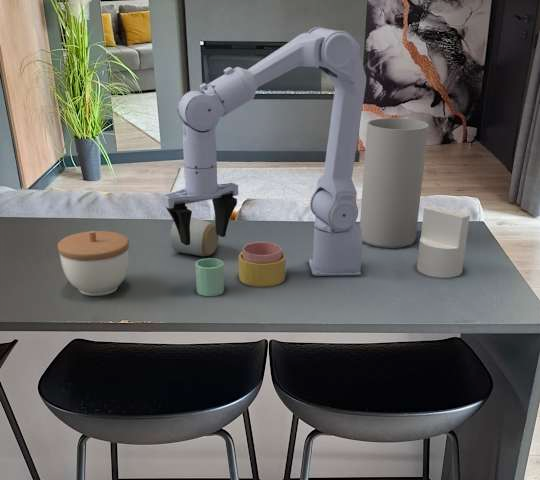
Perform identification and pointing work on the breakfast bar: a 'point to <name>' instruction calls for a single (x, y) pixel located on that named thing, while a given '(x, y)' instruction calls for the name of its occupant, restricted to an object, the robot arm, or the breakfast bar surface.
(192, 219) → the ceramic mug
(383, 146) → the cylinder vase
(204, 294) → the mint cup
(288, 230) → the breakfast bar surface
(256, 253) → the stack top
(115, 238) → the lidded bowl
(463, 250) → the base with upright slab
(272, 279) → the stack bottom
